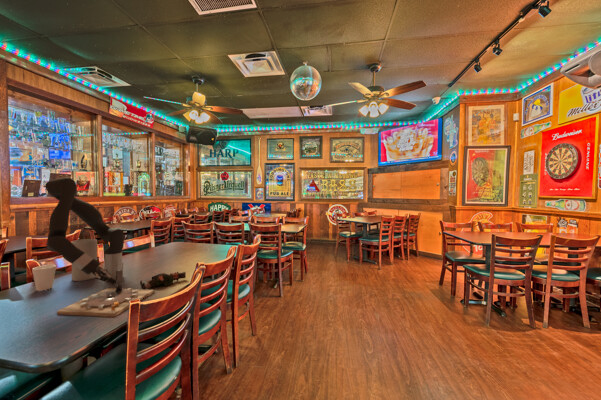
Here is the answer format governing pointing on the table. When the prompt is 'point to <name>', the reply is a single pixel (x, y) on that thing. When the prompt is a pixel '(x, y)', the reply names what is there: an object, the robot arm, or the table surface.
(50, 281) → the foam cup
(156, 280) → the leprechaun
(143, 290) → the base board
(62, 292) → the table surface
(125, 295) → the sprocket
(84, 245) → the cylinder vase
